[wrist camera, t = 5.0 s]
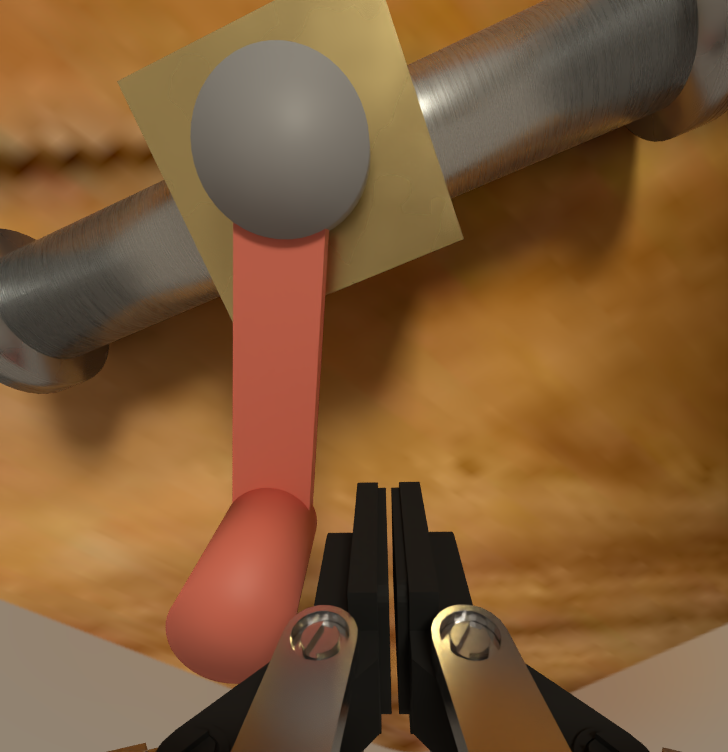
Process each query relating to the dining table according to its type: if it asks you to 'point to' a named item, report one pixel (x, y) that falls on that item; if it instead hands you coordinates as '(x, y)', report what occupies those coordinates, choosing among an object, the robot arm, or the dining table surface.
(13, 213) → the dining table surface
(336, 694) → the robot arm
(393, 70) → the valve body
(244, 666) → the lever
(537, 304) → the dining table surface
